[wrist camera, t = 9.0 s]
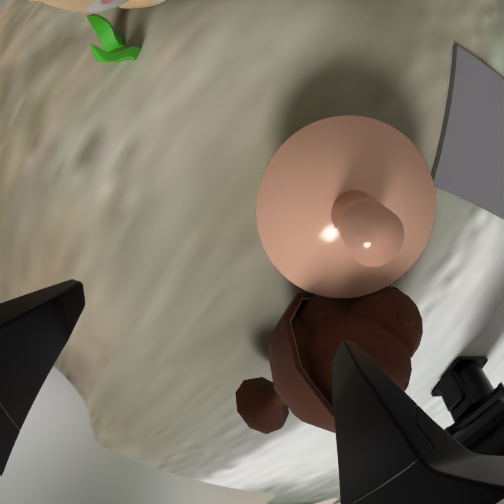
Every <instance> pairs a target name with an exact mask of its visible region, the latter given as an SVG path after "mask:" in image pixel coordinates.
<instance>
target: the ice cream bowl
mask: <svg viewBox="0 0 504 504" xmlns="http://www.w3.org/2000/svg"><path fill="white" fill-rule="evenodd" d="M422 333H423V328H422V318H421V315H420V313H419V310H418V307H417V306H416V304H415V303H414V302H413V301H412V300H411V298H410V297H409V296H407V295H406V294H404V293H403V292H401V291H400V290H399V289H398V288H396V287H391V288H390V287H385V288H383V289H381V290H379V291H376V292H374V293H371V294H368V295H364V296H360V297H353V298H330V297H324V296H320V295H316V294H306V293H298V294H297V295H296V297H295V298H294V299H293V301H292V302H291V303H290V305H289V306H288V308H287V309H286V311H285V312H284V314H283V316H282V317H281V319H280V321H279V322H278V324H277V326H276V327H275V329H274V330H273V332H272V335H271V337H270V340H269V343H268V353H269V361H270V366H271V372H272V378H273V382H271V381H269V380H267V379H265V378H263V377H260V378H254V379H248V380H244V381H243V382H242V384H241V385H240V387H239V388H238V390H237V391H236V402H237V411H238V413H239V414H240V415H241V417H242V418H243V419H244V421H245V422H246V423H247V425H248V426H249V427H250V428H252V429H254V430H257V431H260V432H262V433H265V434H268V433H271V432H273V431H276V430H279V429H281V428H282V427H283V426H284V423H285V421H286V419H287V416H288V414H289V410H288V408H289V409H290V410H291V412H292V413H293V414H294V415H295V416H296V417H297V418H299V419H300V420H301V421H303V422H306V423H308V424H311V425H314V426H317V427H319V428H322V429H325V430H328V431H331V432H334V433H336V431H335V421H334V412H333V400H332V362H333V358H334V356H335V354H336V352H337V350H338V348H339V346H340V345H341V343H342V342H343V341H351V342H355V343H356V344H357V345H358V346H359V347H360V348H361V349H362V350H363V351H364V352H365V353H366V354H367V355H368V356H369V357H370V358H371V359H372V360H373V361H374V362H375V363H376V364H377V365H378V366H379V367H380V368H381V369H382V370H383V371H384V372H385V373H386V374H387V375H388V376H389V377H390V378H391V379H392V380H393V381H394V382H395V383H396V384H397V385H398V386H399V387H400V388H401V389H402V390H403V391H405V390H406V389H407V387H408V384H409V380H410V375H411V371H412V368H411V357H412V356H413V355H414V353H415V352H416V350H417V348H418V347H419V345H420V341H421V337H422Z"/></svg>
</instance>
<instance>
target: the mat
mask: <svg viewBox="0 0 504 504" xmlns="http://www.w3.org/2000/svg"><path fill="white" fill-rule="evenodd" d="M431 176H432V179H433V183H434V186H436V187H439V188H441V189H443V190H445V191H448V192H450V193H452V194H454V195H457V196H459V197H461V198H463V199H465V200H467V201H469V202H471V203H473V204H475V205H477V206H479V207H481V208H483V209H485V210H487V211H489V212H491V213H493V214H495V215H497V216H499V217H500V218H502V219H504V79H503V78H502V77H501V76H499V75H498V74H497V73H496V72H494V71H493V70H492V69H491V68H489V67H488V66H487V65H485V64H484V63H483V62H481V61H480V60H479V59H477V58H476V57H474V56H473V55H472V54H470V53H469V52H467V51H466V50H464V49H463V48H461V47H460V46H458V45H456V46H454V47H453V60H452V70H451V79H450V87H449V94H448V100H447V107H446V112H445V118H444V123H443V128H442V133H441V137H440V142H439V146H438V151H437V155H436V159H435V163H434V166H433V170H432V174H431Z"/></svg>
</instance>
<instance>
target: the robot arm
mask: <svg viewBox="0 0 504 504" xmlns="http://www.w3.org/2000/svg"><path fill="white" fill-rule="evenodd" d="M84 306H85V297H84V289H83V284H82V283H81V282H80V281H77V280H73V279H71V280H68V281H65V282H62V283H59V284H56V285H53V286H50V287H47V288H44V289H41V290H38V291H35V292H32V293H29V294H26V295H23V296H20V297H17V298H15V299H12V300H9V301H6V302H3V303H0V475H1V476H2V474H3V472H4V469H5V466H6V464H7V461H8V458H9V456H10V453H11V451H12V448H13V446H14V444H15V441H16V439H17V437H18V434H19V432H20V429H21V427H22V425H23V423H24V421H25V419H26V417H27V414H28V412H29V410H30V408H31V406H32V404H33V402H34V400H35V398H36V396H37V394H38V392H39V391H40V389H41V387H42V385H43V383H44V381H45V379H46V378H47V375H48V374H49V372H50V370H51V369H52V367H53V365H54V363H55V362H56V360H57V358H58V356H59V355H60V353H61V351H62V350H63V348H64V346H65V345H66V343H67V341H68V339H69V337H70V335H71V333H72V331H73V329H74V327H75V325H76V323H77V321H78V319H79V317H80V315H81V313H82V311H83V309H84ZM487 361H488V359H487V357H459V358H457V359H456V361H455V362H454V363H453V365H452V366H451V368H450V369H449V370H448V372H447V373H446V374H445V376H444V377H443V378H442V380H441V381H440V382H439V383H438V385H437V386H436V387H435V388H434V390H433V391H432V392H431V395H432V396H433V397H434V396H442V398H443V400H444V403H445V405H446V407H447V409H448V411H450V413H451V415H452V418H453V420H454V422H455V423H454V424H452V425H451V426H449V427H447V428H446V429H442V428H441V427H440V426H439V425H438V424H437V423H436V422H434V421H433V420H432V419H431V418H430V417H429V416H428V415H427V414H426V413H425V412H424V411H423V410H422V409H421V408H420V407H419V406H417V404H416V403H415V402H414V401H413V400H412V399H411V398H410V397H409V396H408V395H407V394H406V393H405V392H404V391H403V390H402V389H401V388H400V387H399V386H398V385H397V384H396V383H395V382H394V381H393V380H392V379H391V378H390V377H389V376H388V375H387V374H386V373H385V372H384V371H383V370H382V369H381V368H380V367H379V366H378V365H377V364H376V363H375V362H374V361H373V360H372V359H371V358H370V357H369V356H368V355H367V354H366V353H365V352H364V351H363V350H362V349H361V348H360V347H359V346H358V345H357V344H356V343H355V342H351V341H343V342H342V343H341V345H340V346H339V348H338V350H337V352H336V354H335V356H334V358H333V362H332V400H333V412H334V421H335V431H336V442H337V453H338V466H339V480H340V499H341V504H504V385H503V384H502V383H500V384H499V385H498V387H497V388H495V389H494V388H493V387H492V385H491V383H490V382H489V380H488V378H487V377H486V375H485V373H484V372H483V370H482V368H483V367H484V365H485V364H486V363H487Z"/></svg>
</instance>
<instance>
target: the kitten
mask: <svg viewBox="0 0 504 504" xmlns="http://www.w3.org/2000/svg"><path fill="white" fill-rule="evenodd" d="M29 1H42V2H44V3H46V4H48V5H51V6H54V7H57V8H61V9H65V10H69V11H74V12H82V13H94V12H101V11H106V10H109V9H112V8H115V7H119V8H126V9H131V8H144V7H151V6H155V5H158V4H160V3H162V2H164V1H166V0H29ZM87 17H88V19H89V22H90V24H91V26H92V27H93V28H94V30H95V32H96V33H97V35H98V37H99V40H100V43H101V46H102V48H103V49H104V50H102V49H101V48H99V47H97V46H95V45H92V44H90V45H91V49H92V52H93V55H94V57H95V59H96V61H98V62H111V61H116V62H119V61H123V60H136V58H137V56H138V54H139V52H140V50H141V49H140V48H138V47H124V46H125V45H124V44H123V41H122V36H117V34H116V33H115V31H114V29H113V27H112V25H111V24H110V22H108V21H107V20H106V19H105V18H103V17H102V16H100V15H97V14H91V15H88V16H87Z"/></svg>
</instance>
